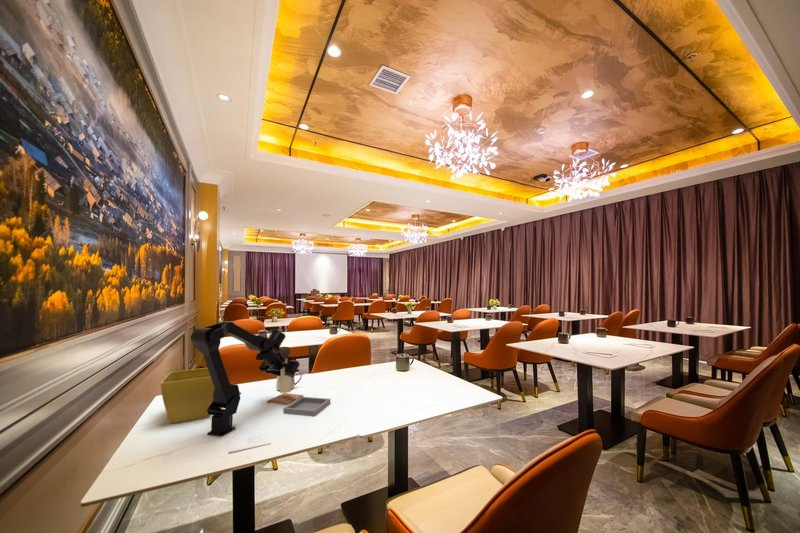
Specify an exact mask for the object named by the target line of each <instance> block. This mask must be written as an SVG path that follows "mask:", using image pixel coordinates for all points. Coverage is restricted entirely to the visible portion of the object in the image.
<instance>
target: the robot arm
mask: <svg viewBox="0 0 800 533" xmlns="http://www.w3.org/2000/svg"><path fill="white" fill-rule="evenodd" d="M227 335H228V336H230V337H232V338H233V339H236V340H239V341H241V342H242V343H244V345H245V346H246V347H247V348H248V349H249V350H250V351H254V352H255V351H256V352H258V353H256V356H255V360H256V361H262V363H260V366H259V368H258V370H259V371H260V372H261V373H265V374H270V375H274V376H278V377H281V369H282V368H285V374H284V375H286V376H289V377H291V379H294V378H295V374H296V372H297V370H298V368H299V366H300V364H301V363H300V362H299V360H296V359H295V360H293V359H292V360H289V361H288V362H286V361H287V357H288V356H289V355H291V352H292V351H291V349H290V347H289V346H281V345H282V343H284V341H285V339H286V334H285V333H283V332H282V331H279V330H278V329H272V330H271V333H270V335H269V336H268V337H267V336H262V335H257V334H254V333H252V332H250V331H248V330H247V329H245V328H242V327H241V326H239V325H237V324H236V323H234V322H233V321H231V320H230V321H229V320H227V321H226V320H223V321H220V322H217V323H214V324H210V325H208V326H205V327H198V328H195V330H193V332H192V333H191V334H190V340H191V343H192V344H193V346H194V348H195V349H197V351H199V352H200V353H201V354H202V357H203V359H204V362H205V365H206V368H208V370H209V373H210V376H211V379H212V382H213V384H214V387H215V390H214V393H213V399H214V400H213V402H212V403H211V405H210V406H209V407H208V409H207V413H208V415H209V416H211V425H210V427H211V428H210V431H208V432H207V435H209V436H217V437H224V436H225V435H227V434H228V433H230V432H232V431H233V430H235V429H236V426H233V421H234V420H233V418H234V415H235V414H237V411H238V407H239V404H240V401H241V394H242V393H241V392H240V388H239V385H238V384H234V383H230V379H229V375H228V374H227V370H226V367H225V364H224V361H223V358H222V356H221V352H220V346H221V339H223V338H225V337H226V336H227Z"/></svg>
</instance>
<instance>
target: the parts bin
mask: <svg viewBox="0 0 800 533" xmlns="http://www.w3.org/2000/svg"><path fill="white" fill-rule="evenodd" d="M330 405H331V398H322V397H310V396H303V397H301V398H299V399H297V400H296V401H294V402H292V403H290V404H288V405H286V406H285V407H283V414H285V415H294V416H305V417H316V416H317V415H319V414H320V413H321V412H322V411H323V410H325V408H327V407H328V406H330Z"/></svg>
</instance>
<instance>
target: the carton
mask: <svg viewBox="0 0 800 533" xmlns="http://www.w3.org/2000/svg"><path fill="white" fill-rule="evenodd" d="M280 371H281V376H280V390H279V392H280V393H279V394H283V393H291V392H292V377H289V376H286V375H284V374H285V368H282V369H281V370H280Z"/></svg>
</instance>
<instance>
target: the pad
mask: <svg viewBox="0 0 800 533" xmlns="http://www.w3.org/2000/svg"><path fill="white" fill-rule="evenodd" d="M301 397H304V394H296V393H295V394H294V393H290V392H287V393H280V394H279V395H277V396H275V397H272V398H270V399H268V400H267V401H266V402H267V404H271V403H273V404H277V405H286V406H288V405H290V404H291V403H293V402H294V401H296V400H298V399H299V398H301Z"/></svg>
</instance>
